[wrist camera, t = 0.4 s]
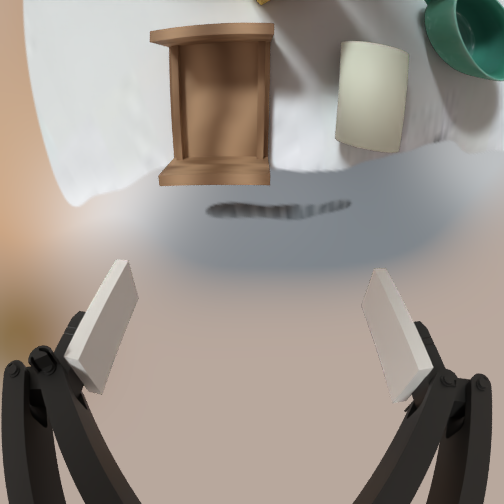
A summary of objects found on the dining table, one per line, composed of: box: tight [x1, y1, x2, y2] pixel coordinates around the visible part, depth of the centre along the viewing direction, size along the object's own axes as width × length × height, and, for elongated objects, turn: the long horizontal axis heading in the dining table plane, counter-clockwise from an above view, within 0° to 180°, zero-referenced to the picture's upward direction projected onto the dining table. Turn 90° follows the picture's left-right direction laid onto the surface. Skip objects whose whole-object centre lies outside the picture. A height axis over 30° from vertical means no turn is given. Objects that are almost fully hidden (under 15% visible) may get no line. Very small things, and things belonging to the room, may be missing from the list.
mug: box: [424, 0, 504, 81], centre depth 19 cm, size 17×13×10 cm
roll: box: [335, 41, 409, 153], centre depth 28 cm, size 12×8×8 cm, turn 179°
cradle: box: [150, 23, 274, 186], centre depth 29 cm, size 12×18×8 cm, turn 179°
